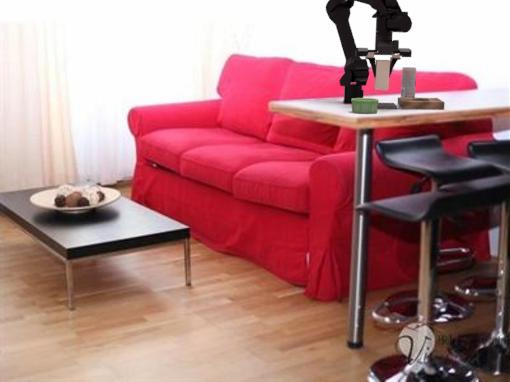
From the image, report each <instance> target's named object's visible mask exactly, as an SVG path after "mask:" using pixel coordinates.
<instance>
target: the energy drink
mask: <svg viewBox="0 0 510 382" xmlns="http://www.w3.org/2000/svg"><path fill="white" fill-rule="evenodd" d="M416 82H417V68H416V67H410V66H408V67H402V69H401V83H400V84H401V85H400V97H403V98H416V84H417V83H416Z"/></svg>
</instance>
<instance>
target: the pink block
mask: <svg viewBox="0 0 510 382" xmlns="http://www.w3.org/2000/svg"><path fill="white" fill-rule="evenodd" d="M375 66H376V78H374V90H375V91H389V89H390V88H389V86H390V78H389V70H390V59H375Z"/></svg>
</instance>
